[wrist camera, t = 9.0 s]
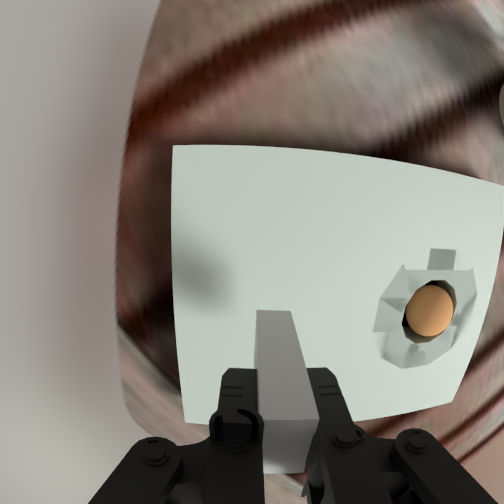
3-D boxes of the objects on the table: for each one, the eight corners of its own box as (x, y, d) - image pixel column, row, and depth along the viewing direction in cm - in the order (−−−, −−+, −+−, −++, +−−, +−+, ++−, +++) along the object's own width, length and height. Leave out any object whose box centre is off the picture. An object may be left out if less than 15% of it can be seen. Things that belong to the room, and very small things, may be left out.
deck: (190, 400, 21) (185, 422, 18) (183, 150, 16) (173, 145, 14) (439, 386, 21) (451, 401, 19) (485, 184, 17) (507, 187, 14)
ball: (411, 290, 16) (459, 309, 14) (419, 270, 19) (461, 286, 17) (394, 334, 18) (438, 353, 16) (404, 311, 20) (443, 327, 18)
